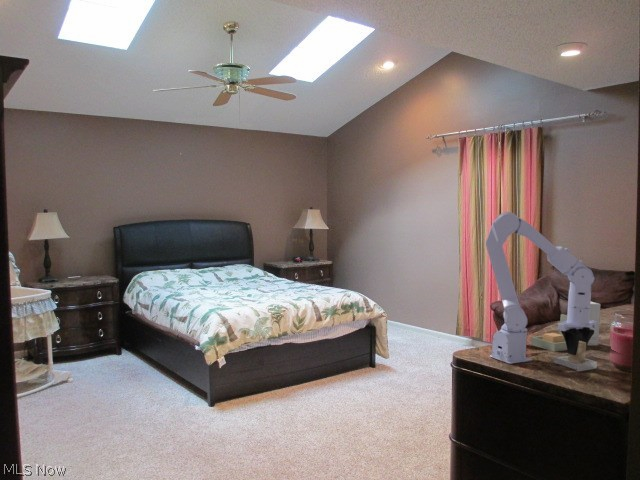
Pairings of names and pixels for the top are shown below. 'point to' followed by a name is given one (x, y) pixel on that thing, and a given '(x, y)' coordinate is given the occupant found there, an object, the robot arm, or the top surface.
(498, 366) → the top surface
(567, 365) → the bracket
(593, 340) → the skincare box
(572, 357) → the beige tall block
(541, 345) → the case
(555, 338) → the block
